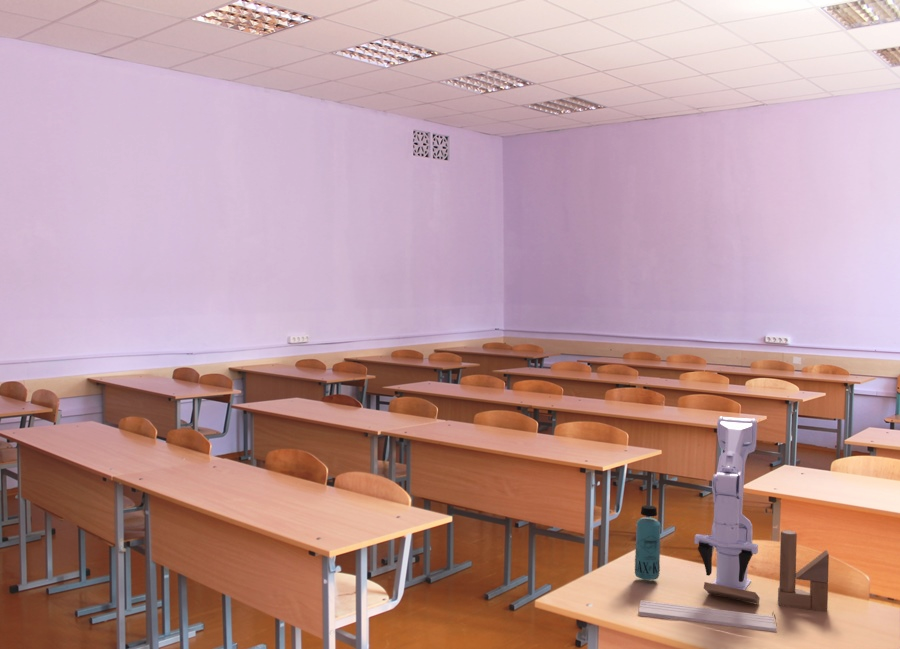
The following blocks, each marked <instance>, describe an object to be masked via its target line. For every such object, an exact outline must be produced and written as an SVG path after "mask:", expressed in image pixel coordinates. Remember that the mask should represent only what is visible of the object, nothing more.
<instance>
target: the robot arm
mask: <svg viewBox="0 0 900 649" xmlns="http://www.w3.org/2000/svg"><path fill="white" fill-rule="evenodd" d="M716 426H717V427H716V434H717V440H718V445H719V449H720V450H723V451H724V452H722V453H721V454H720V455H719V457H718V463H717V470H716V473H713V476H712V479H711V480H712V485H711V487H712V488H711V490H712V496H713V497H712V498H713V499H712V502H713V503H714V505H713V521H712V526H711V535H710V534H709V535H708V534H699V533H697V534H695V535H694V544H695V545H698V547H697V551H698V552H699V554H700V557H701V558H702V561H703V565H704V568H705V572H706V573H705V575H706V576H709V577H710V576H711V575H712V571H713V568H712V564H713V563H712V560H713V559H712V557H713V548H714V549H715V552H716V577H715V579H714V581H712V584H717V585H722V586H727V587H731V588H736V589H741V590H746V589H747V588H748V586H749V585H750V584H751V583H752V579H748V567H749V563H750V562H751V559H752V557H753V556H754V555H757V554H758V551H759V544H758V543H754V542H753V535H754V534H753V533H754V532H753V523H752V522H751V520H750V519H749V518H747V517H746V516H745V515H744V514H743V507H744V506H743V503H744V486H745V471H746V461H747V458H748V455H749V454H751V453H753V452H755V450H756V448H757V438H758V437H757V436H758V421H757V419H756V418H755V417H754V418H745V417H730V416H723V415H720V416H719V417H718V418H717V425H716Z"/></svg>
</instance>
